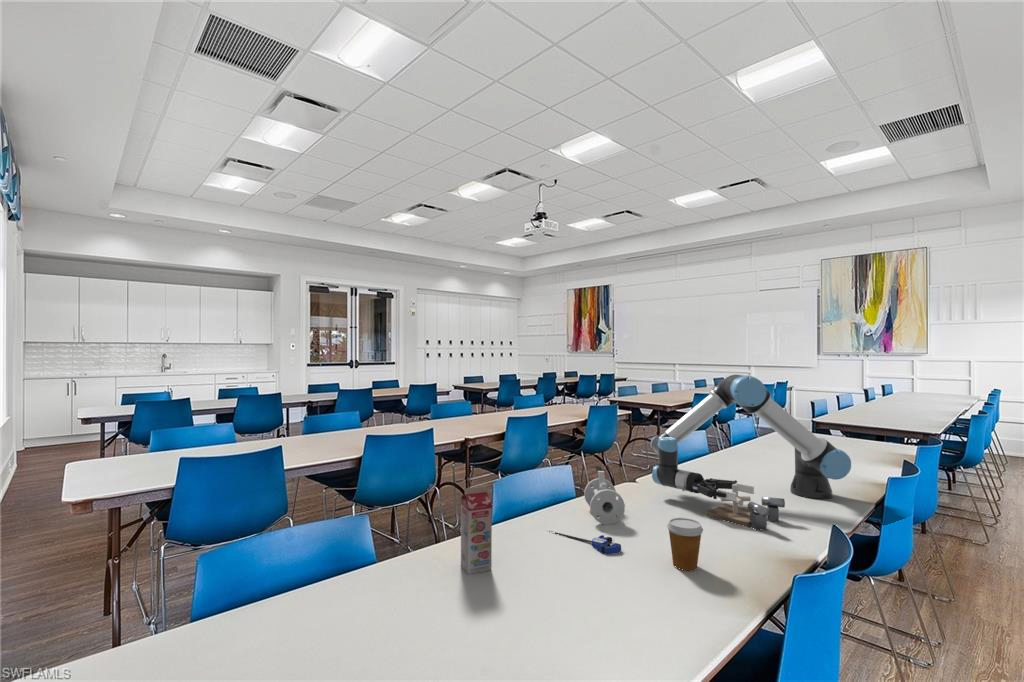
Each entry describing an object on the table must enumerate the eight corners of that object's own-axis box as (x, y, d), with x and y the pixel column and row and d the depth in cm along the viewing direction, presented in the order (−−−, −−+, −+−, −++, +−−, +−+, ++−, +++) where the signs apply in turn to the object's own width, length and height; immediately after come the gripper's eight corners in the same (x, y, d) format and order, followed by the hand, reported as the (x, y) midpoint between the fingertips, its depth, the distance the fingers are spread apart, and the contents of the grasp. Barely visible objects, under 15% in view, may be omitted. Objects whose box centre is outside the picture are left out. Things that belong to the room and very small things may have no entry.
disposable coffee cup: (685, 576, 132) (685, 531, 132) (659, 562, 140) (659, 520, 140) (710, 569, 136) (710, 525, 136) (684, 556, 145) (684, 515, 145)
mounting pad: (725, 507, 190) (725, 503, 190) (766, 517, 179) (766, 513, 179) (706, 515, 180) (705, 511, 180) (747, 527, 169) (747, 522, 169)
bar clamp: (629, 539, 152) (613, 548, 145) (629, 547, 152) (614, 557, 145) (543, 520, 173) (526, 527, 165) (544, 527, 173) (526, 535, 165)
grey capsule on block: (762, 521, 175) (762, 498, 175) (761, 517, 179) (761, 495, 179) (785, 523, 173) (785, 500, 173) (783, 519, 176) (782, 497, 177)
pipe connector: (744, 508, 184) (743, 481, 184) (755, 517, 174) (754, 488, 174) (716, 508, 185) (716, 481, 185) (726, 517, 175) (725, 488, 175)
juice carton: (460, 564, 139) (461, 485, 139) (483, 560, 141) (483, 483, 142) (468, 574, 133) (468, 491, 133) (491, 570, 135) (491, 489, 136)
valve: (625, 525, 171) (625, 481, 171) (590, 524, 171) (590, 481, 171) (612, 505, 193) (612, 466, 193) (582, 504, 193) (582, 466, 193)
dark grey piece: (746, 525, 171) (746, 501, 171) (756, 524, 172) (756, 501, 172) (760, 532, 164) (759, 508, 164) (770, 531, 165) (770, 507, 165)
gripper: (706, 485, 202) (760, 497, 185) (672, 497, 185) (728, 511, 169) (706, 467, 202) (759, 477, 186) (672, 477, 185) (728, 489, 169)
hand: (745, 493), depth 177 cm, fingers open, 13 cm apart
